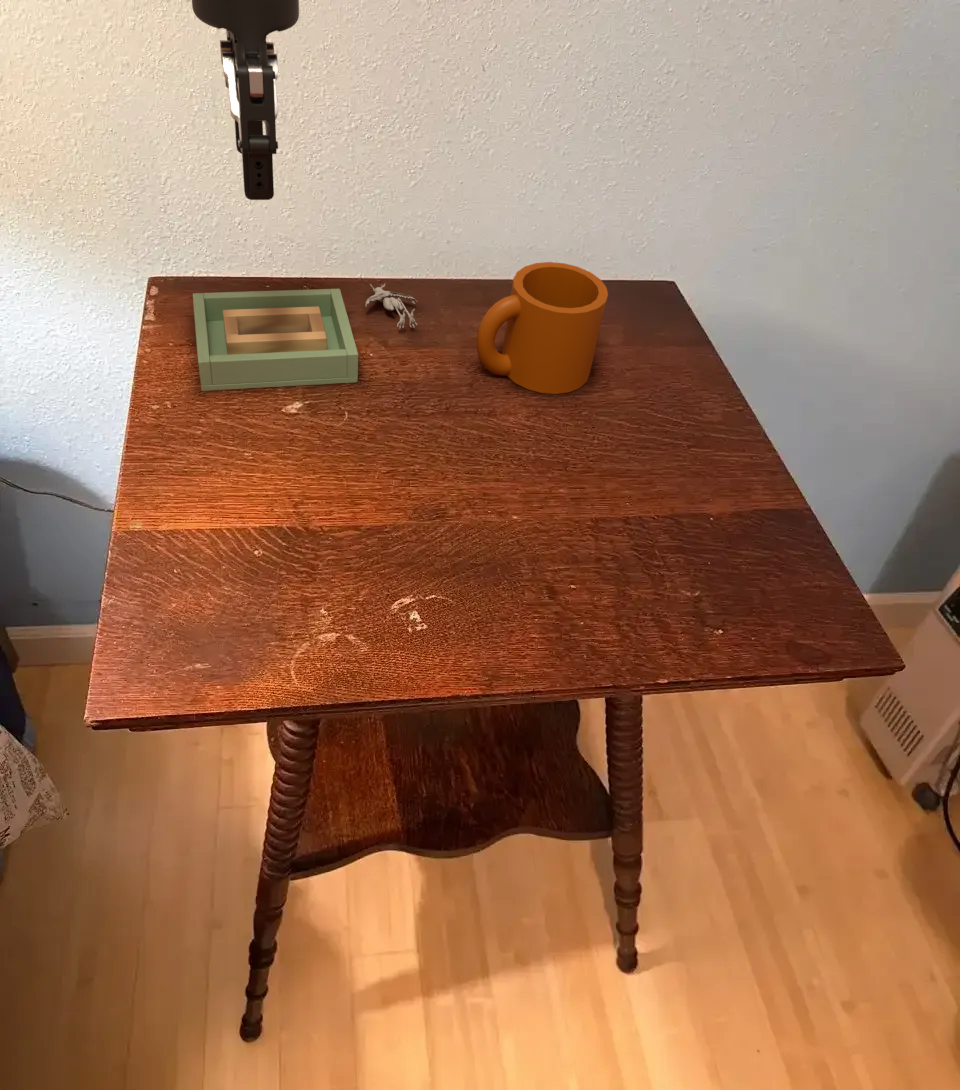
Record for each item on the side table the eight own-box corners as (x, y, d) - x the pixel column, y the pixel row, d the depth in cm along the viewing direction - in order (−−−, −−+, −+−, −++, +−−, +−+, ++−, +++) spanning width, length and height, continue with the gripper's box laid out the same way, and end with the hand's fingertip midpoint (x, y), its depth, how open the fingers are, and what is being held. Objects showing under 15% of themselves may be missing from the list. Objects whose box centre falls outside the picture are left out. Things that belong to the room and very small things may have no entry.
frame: (228, 364, 87) (226, 342, 85) (224, 331, 90) (222, 309, 89) (327, 359, 89) (326, 338, 87) (319, 327, 93) (319, 306, 91)
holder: (201, 391, 84) (198, 362, 82) (195, 321, 92) (192, 293, 90) (357, 382, 88) (358, 354, 86) (339, 315, 96) (339, 288, 93)
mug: (461, 343, 94) (470, 260, 88) (576, 342, 97) (593, 261, 91) (478, 397, 88) (489, 312, 82) (600, 394, 91) (620, 311, 84)
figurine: (433, 327, 95) (401, 295, 100) (436, 307, 94) (403, 276, 99) (380, 331, 93) (349, 298, 98) (382, 311, 91) (351, 279, 96)
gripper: (182, -85, 69) (202, 138, 81) (190, -30, 60) (211, 215, 71) (286, -78, 71) (291, 139, 83) (310, -23, 62) (312, 214, 73)
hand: (254, 174), depth 77 cm, fingers open, 8 cm apart
